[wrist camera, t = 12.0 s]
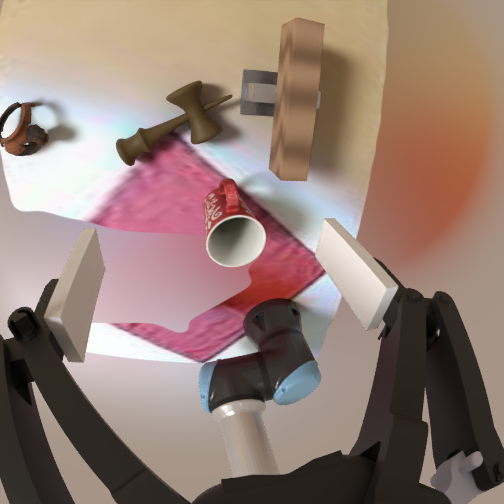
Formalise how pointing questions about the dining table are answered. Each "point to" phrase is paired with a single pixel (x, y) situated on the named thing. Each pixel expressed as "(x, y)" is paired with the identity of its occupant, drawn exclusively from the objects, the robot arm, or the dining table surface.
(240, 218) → the mug
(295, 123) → the walnut bar
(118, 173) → the dining table surface
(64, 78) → the dining table surface
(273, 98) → the fulcrum
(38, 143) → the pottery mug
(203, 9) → the dining table surface
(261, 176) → the dining table surface
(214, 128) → the kendama
